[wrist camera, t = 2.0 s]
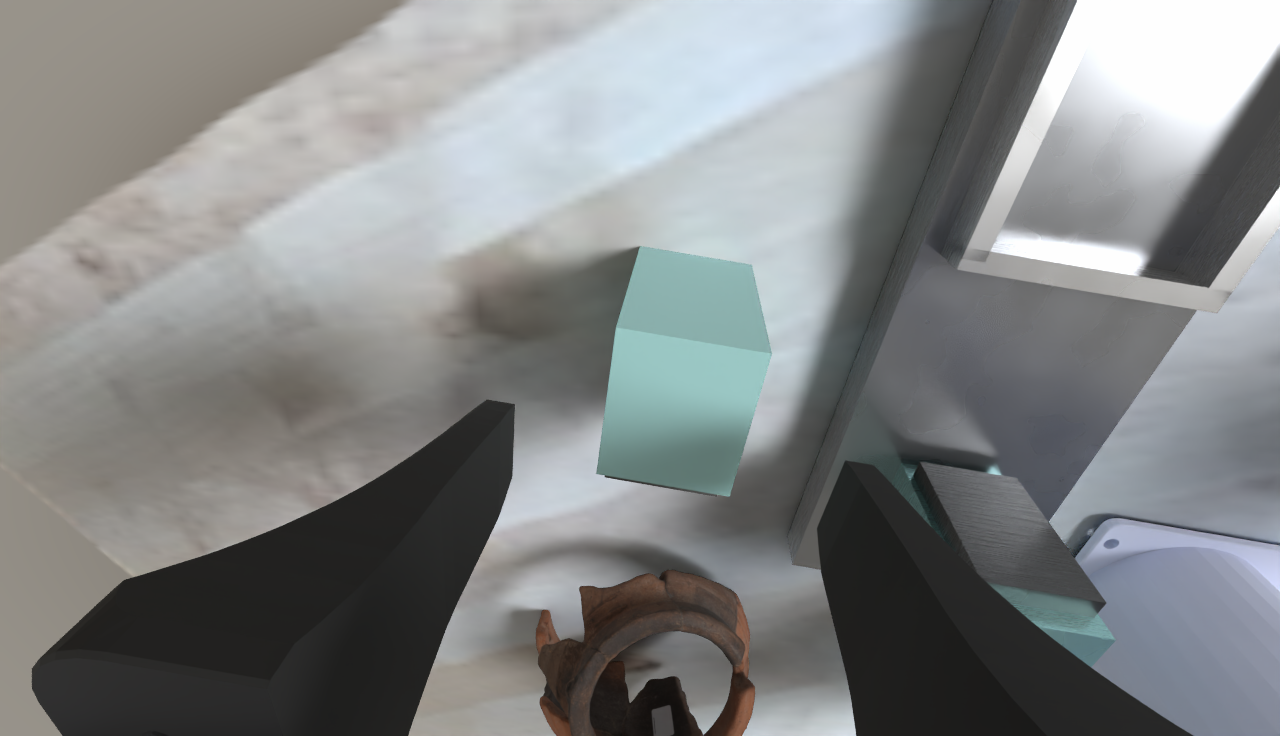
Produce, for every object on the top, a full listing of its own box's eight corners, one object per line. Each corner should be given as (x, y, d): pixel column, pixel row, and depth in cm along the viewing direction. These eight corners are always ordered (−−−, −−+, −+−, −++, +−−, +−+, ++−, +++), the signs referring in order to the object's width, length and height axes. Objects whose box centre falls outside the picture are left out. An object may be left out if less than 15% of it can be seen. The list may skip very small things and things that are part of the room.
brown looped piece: (497, 567, 27) (497, 673, 19) (672, 481, 29) (739, 546, 21) (592, 764, 29) (628, 932, 21) (750, 673, 31) (837, 798, 23)
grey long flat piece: (977, 568, 24) (1082, 768, 17) (787, 535, 24) (819, 722, 17) (1418, -107, 12) (2186, -264, 6) (1056, -164, 13) (1432, -381, 6)
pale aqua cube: (640, 245, 18) (615, 327, 13) (751, 264, 18) (771, 353, 13) (621, 378, 21) (594, 490, 16) (718, 394, 21) (724, 512, 15)
